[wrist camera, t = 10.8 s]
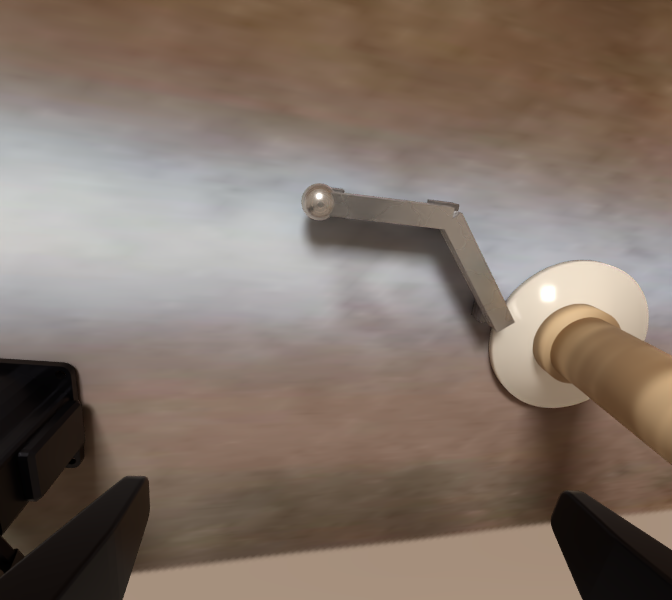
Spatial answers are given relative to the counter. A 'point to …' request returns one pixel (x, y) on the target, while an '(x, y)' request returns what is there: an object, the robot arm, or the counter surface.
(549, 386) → the coaster
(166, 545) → the counter surface
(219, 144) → the counter surface
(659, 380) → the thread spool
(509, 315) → the rail
